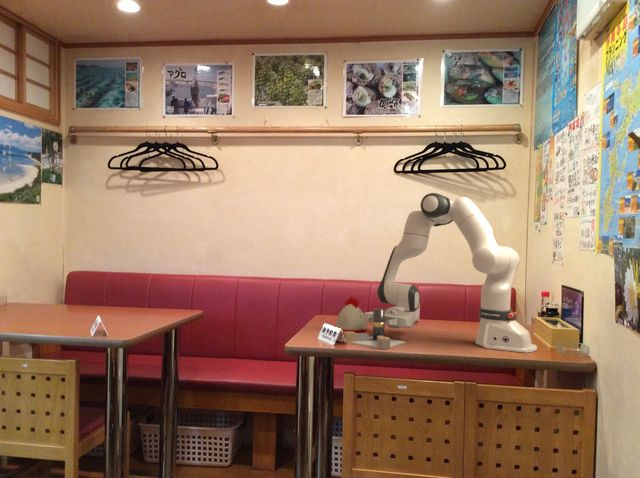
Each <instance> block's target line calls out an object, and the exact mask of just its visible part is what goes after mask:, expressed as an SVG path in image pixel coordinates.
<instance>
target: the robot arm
mask: <svg viewBox="0 0 640 478" xmlns="http://www.w3.org/2000/svg"><path fill="white" fill-rule="evenodd" d="M452 222H453V223H454V224H455V225H456V226H457V228H458V229H459V231H460V233H461V234H462V236H463V237H464V239H465V240H466V243H467V244H468V246H469V248H470V249H469V250H470V251H471V254H472V258H471V262H472V266H473V267H474V268H475V270H476V271H478V272H479V273H481V274H485V275H486V278H485V280H484V283H483V285H482V286H481V288H480V289H481V290H480V307H479V312H478V320H479V321H478V322H479V327H478V334H477V336H476V340H475V344H476V345H477V346H479V347H480V346H481V347H482V348H485V349H488V350H489V349H490V350H499V351H508V352H509V351H510V352H517V353H527V354H528V353H533V352H535V351H537V350H538V346H537V345H536V344H534V343H533V344H532V340H531V339H532V338H531V334H530V332H529V331H528V329H526V328H525V327H524V326H522V325H521V324H520V323H519V322H518V321H517V320H516V315H517V312H515V311H513V310H512V309H511V298H512V287H513V283H514V279H515V275H516V270H517V268H518V267H519V265H520V261H521V259H520V255H519V254H518V252H517V251H516V250H515V249H513V248H511V247H508V246H505V245H503V246H502V245H501V246H500V245H499V244H498V243H497V241H496V238H495V236H494V229H493V227H492V226H491V224H490V223H489V221H488V220H487V219H486V217H485V216H484V214H483V212H482V211H481V210H480V209H479V208H478V205H476V204H475V203H474V202H473V200H471V199H470V198H469V197H466V196H460V197H458V198H456V199H454V200H450V198H448V197H447V196H444V195H442V194H440V193H436V192H429V193H427V194H425V195H424V196H423V197H422V198H421V201H420V210H414V211H411V212H410V213H409V214H408V216H407V218H406V221H405V224H404V229H403V233H402V238H401V240H400V241H399V243H398V244H397V245H395V246H394V247H393V249H392V251H391V253H390V256H389V259H388V262H387V264H386V268H385V270H384V273H383V276H382V279H381V280H380V283H379V285H378V287H377V290H376V291H377V292H376V296H377V297H378V299H379V301H380V303H382V304H386V305H394V306H390V307H388V308H386V310H385V319H384V322H385V326H387V327H388V328H390V329H399V328H402V329H403V328H405V329H406V328H407V329H412V328H414V324H413V323H414V322H415V321H416V320H417V319H418V317H419V309H418V307H419V304H420V305H421V293H420V291H419V288H418V287H417V286H416V285H415V284H410V283H409V284H408V283H402V282H395V279H396V277H397V273H398V271H399V268H400V265H401V264H402V263H403V262H404V261H406V260H409V259H412V258H416V257H418V256H420V255H422V254H423V253H424V252H425V251H426V249H427V247H428V243H429V239H430V231H431V228H432V227H441V226H446V225H449V224H451V223H452ZM363 314H364V321H365V322H366V323H372V324H373V311H368V312H363Z"/></svg>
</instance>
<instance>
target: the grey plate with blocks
mask: <svg viewBox="0 0 640 478" xmlns="http://www.w3.org/2000/svg"><path fill="white" fill-rule="evenodd" d="M343 335H344V338H345V340H346V342H347V343H346V344H350V343H351V344H352V345H356V346H364V347H369V348H375V349H380V350H386V349H387V350H388V349H390V348H392V347H396V346H399V345H402V344H405V341H404V340H398V339H391V338H390V337H389V336H385V335H384V336H377V340H373V335H370V334H369V333H368V332H366V333H355V332H353V331H349V332H343ZM351 344H350V345H351Z"/></svg>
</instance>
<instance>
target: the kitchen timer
mask: <svg viewBox="0 0 640 478" xmlns="http://www.w3.org/2000/svg"><path fill="white" fill-rule="evenodd" d="M346 299H347V300H345V301H344V305H345V306H344V307H343V308H342V309H340V310H341V311H339V314H338V315H337V319H336V322H335V327H338V328H341V329H342V330H343V332H349V331H353V332H355V333H365V332H366V333H368V326H367V325H368V324H367V322H365V321H364V312H363V311H362V310H361V308H360V307H359V304H360V300H358V298H357V297H354V296H353V297H352V296H349V298H346Z"/></svg>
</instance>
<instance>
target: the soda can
mask: <svg viewBox="0 0 640 478" xmlns="http://www.w3.org/2000/svg"><path fill="white" fill-rule="evenodd" d="M418 309H419V317H418V319H417V320H416V321H415V322H414V323H413V325H417V324H419V323H420V319H421V317H420V316H421V315H420V314H421V311H420V310H421V303H420V304H419V307H418Z"/></svg>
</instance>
